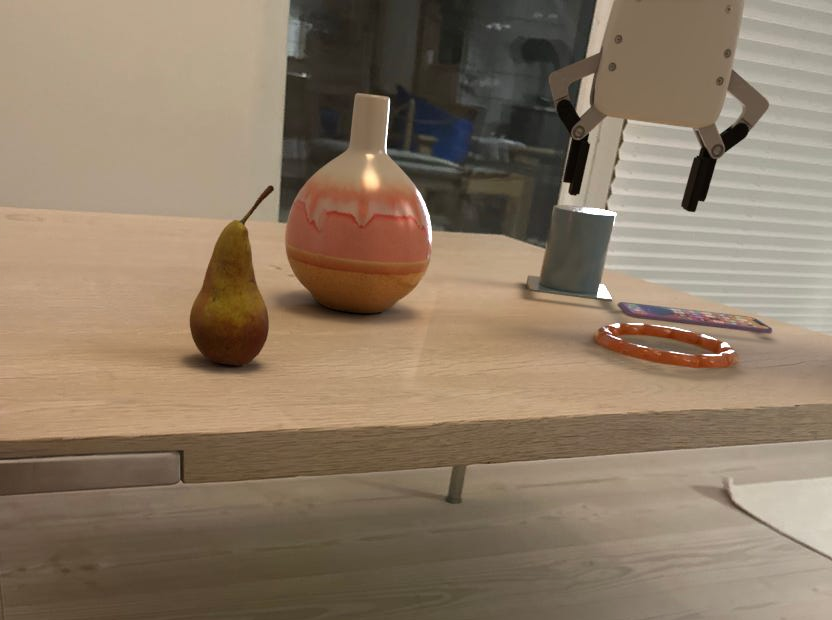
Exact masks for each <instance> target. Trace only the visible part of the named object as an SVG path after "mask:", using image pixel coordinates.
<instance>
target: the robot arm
mask: <svg viewBox="0 0 832 620" xmlns="http://www.w3.org/2000/svg"><path fill="white" fill-rule="evenodd" d="M744 6H745V0H613V2H612V5H611V8H610V11H609V15H608V20H607V22H606V27H605V30H604V34H603V37H602V41H601V45H600V49H599V52H597V53H595V54H593V55H590V56H587V57H586V58H583V59H581V60H579V61H576V62H574V63H572V64H569V65H566V66H565V67H561V68H560V69H558V70H555V71H553V72H551V73H550V74H549V77H548V84H549V88H550V92H551V96H552V101H553V104H554V109H555V113H556V114H557V116H558V118H559V120H560V121H561V123H562V125H563V127H564V128H565V129H566V131H567V133H568V135H569V136H570V137H571V140H570V145H569V148H568V154H567V159H566V163H565V168H564V173H563V179H562V182H563V183H566V184H569V186H568V192H567V193H568V194H569V195H570V196H575V197H576V196H577V195H580V193H581V189H582V184H583V179H584V176H585V171H586V166H587V161H588V157H589V153H590V148H591V143H590V142H589V137H590V133H591V132H592V131H593V130H594V129H595V128H596V127H597V126H598V125H599V124H601V122H603V121H604V120H605V118H607V117H610V118H616V119H623V120H628V121H635V122H636V121H637V122H642V123H643V122H644V123H652V124H659V125H666V126H674V127H681V128H691V129H692V131H693V133H694V135H695V137H696V140H697V142H698V145H699V147H700V149H699V153H698V155H696V156H695V157H693V161H692V163H691V167H690V171H689V174H688V178H687V181H686V186H685V189H684V193H683V196H682V200H681V203H680V207H681V208H682V209H683V210H685V211H687V212H689V213H696V211H697V208H698V204H699V202H701V203H702V202H704V203H705V201H706V199H707V197H708V193H709V190H710V186H711V182H712V179H713V175H714V172H715V168H716V165H717V162H718V159H721V158H722V157H723V156H724V155H725V153H727V152H728V151H730V150H731V149H732V148H734V147H735V146H737V144H739V143H741V142H742V141H743V140H744V139H746V137H747V136H748V135H749V132H750V131H751V130H752V129H753V128H754V127H755V126H756V124H757V123H758V122H759V121H760V119H761V118H762V117H763V116H764V115H765V113H766V112H767V111H768V110H769V107H770V101H769V100H768V99H767V98H766V97H765V96H764V95H763V94H761V93H760V92H759V91H758V90H757V89H756V88H755V87H753V85H751V84H750V83H749V82H748V81H747V80H745V79H744V78H743V77H742V76H741V75H740V74H738V72H737V71H735V70H734V69H733V67H734V63H735V57H736V53H737V48H738V43H739V38H740V37H739V36H740V31H741V26H742V19H743V14H744ZM590 75H593V77H592V82H591V87H590V92H589V106H590V107H589V108H588V109H587V110H586V111H585V112H584V113H583V114H582V115H580V116H579V114H578V112H577V111H576V109H575V107H574V106H573V104H572V102H571V97H570V93H569V87H570V86H571V84H572V83H574V82H577V81H579V80H581V79H584V78H586V77H588V76H590ZM727 94H728V95H729V96H731V97H732V98H733V99H734V100H735V101H736V102H737V103H738V104H739V105H741V107H742V112H741V114H739V116H738V118H737V119H736V120H735V122H734V123H733V124H731V125H730V126H729V127H726V129H724V130H723V131H722V132H719V129H718V127H717V124H716V122H717V121H718V119H719V117H720V115H721V112H722V110H723V108H724V104H725V100H726V97H727Z"/></svg>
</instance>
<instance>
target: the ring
mask: <svg viewBox="0 0 832 620" xmlns="http://www.w3.org/2000/svg"><path fill="white" fill-rule="evenodd" d="M622 336H647V337H655V338H663V339H670V340H674V341H678V342H683V343H687V344H691V345H695V346H698V347H701V348H702V349H705V350H708V351H711V352H713V353H714V354H690V353H681V352H675V351H668V350H660V349H656V348H652V347H648V346H643V345H639V344H636V343H631V342H628V341H627V340H624V339H622V338H620V337H622ZM593 337H594V338H595V341H596V343H597V344H598V345H600V346H602V347H604V348H607V349H608V350H611V351H613V352H615V353H618V354H620V355H624V356H628V357H632V358H636V359H640V360H643V361H648V362H650V363H651V362H652V363H655V364H661V365H662V364H663V365H669V366H678V367H685V368H692V369H727V368H728V367H730V366H733V365H736V364H737V363H739V355H738V353H737V352H736V350H734V349H733V347H731V345H730V344H728V343H727V342H724V341H722V340H719V339H716V338H714V337H711V336H709V335H706V334H702V333H697V332H693V331H689V330H685V329H681V328H676V327H670V326H665V325H663V326H662V325H657V324H656V325H654V324H648V323H624V322H623V323H619V322H617V323H612V324H609V325H604V326H601V327H599V328H598V329H596V330H595V332H594V335H593Z"/></svg>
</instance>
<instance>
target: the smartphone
mask: <svg viewBox="0 0 832 620" xmlns="http://www.w3.org/2000/svg"><path fill="white" fill-rule="evenodd" d="M617 306H618V307H619V308H620V309H621V310H622V311H623V313H624V314H625V315H626V316H628V317H630V318H634V319H641V320H649V321H658V322H667V323H674V324H683V325H693V326H700V327H710V328H719V329H724V330H725V329H727V330H735V331H744V332H753V333H762V334H772V333H773V328H772V327H770V326H769V325H767V324H765V323H764V322H762V321H760V320H759V319H757V318H755V317H752V316H748V315H747V316H746V315H741V314H740V315H739V314H731V313H723V312H714V311H713V312H712V311H706V310H705V311H704V310H695V309H688V308H687V309H686V308H678V307H670V306H661V305H660V306H659V305H651V304H644V303H634V302H624V301H619V302H618V303H617Z"/></svg>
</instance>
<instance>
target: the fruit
mask: <svg viewBox="0 0 832 620" xmlns="http://www.w3.org/2000/svg"><path fill="white" fill-rule="evenodd" d="M274 191H275V188H274V186H273V185H268V186H267V187H266V188H265V189H264V190H263V192H262V193H260V195H259V197H258V198H257V200H256V201H255V202H254V204H253V206H252V207H251V208H250V209H249V210H248V212H247V213H246V214H245V215H244V216H243V218H241V219H240V220H238V219H233V220H232V221H230V223H228V224H227V225H226V226H225V227H224V228H223V229H222V231H221V233H220V235H219V236H218V238H217V240H216V242H215V244H214V247H213V250H212V252H211V253H212V254H211V256H210V259H209V261H208V264H207V266H206V267H207V268H206V271H205V275H204V279H203V283H202V285H201V288H200V291H199V292H198V294H197V295H196V297H195V298H194V301H193V303H192V306H191V309H190V313H189V330H190V334H191V338H192V340H193V342H194V344H195V347H196V348H197V349H198V351H199V352H200V354H201V355H203V357H205V359H207V360H209V361H210V362H212V363H217V364H223V365H232V366H243V365H246V364H248V363H250V362H251V361H253V360H255V358H256V357H257V356H258V355H259V354H260V353H261V352H262V350H263V348H264V347H265V344H266V342H267V339H268V335H269V329H270V326H269V325H270V321H269V320H270V319H269V313H268V312H269V311H268V308H267V305H266V302H265V300H264V298H263V295H262V293H261V290H260V288H259V287H258V282H257V280H256V275H255V270H254V264H253V252H252V244H251V242H250V237H249V230H248V228H247V226H245V225H246V222H247V221H248V219H249V218H250V217H251V216H252V215H253V213H254V212H255V211H256V209H257V208H258V207H259V206H260V204H261V203H262V202H263V201H264V200H265V199H266V198H267V197H268V196H269V195H270V194H272V193H273V192H274Z"/></svg>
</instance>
